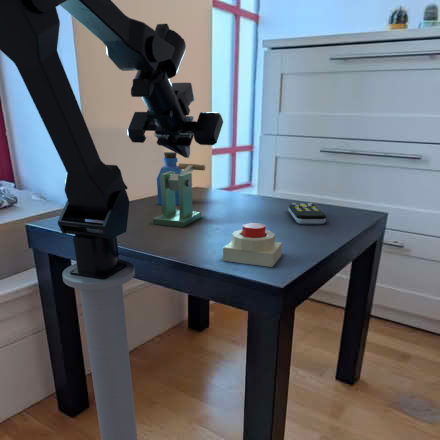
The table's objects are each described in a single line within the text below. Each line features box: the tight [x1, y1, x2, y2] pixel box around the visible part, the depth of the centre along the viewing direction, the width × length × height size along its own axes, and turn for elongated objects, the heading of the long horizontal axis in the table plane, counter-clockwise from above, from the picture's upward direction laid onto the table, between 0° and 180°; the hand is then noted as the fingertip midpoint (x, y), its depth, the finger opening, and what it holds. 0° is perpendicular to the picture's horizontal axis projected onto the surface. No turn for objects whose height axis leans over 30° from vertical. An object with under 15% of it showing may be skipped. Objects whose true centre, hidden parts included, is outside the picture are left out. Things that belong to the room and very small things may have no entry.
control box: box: [222, 229, 283, 268], centre depth 66 cm, size 6×8×4 cm
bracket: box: [152, 171, 202, 228], centre depth 87 cm, size 9×7×10 cm
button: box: [241, 222, 267, 238], centre depth 65 cm, size 4×4×2 cm
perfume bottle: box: [156, 151, 183, 206], centre depth 104 cm, size 6×6×12 cm
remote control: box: [288, 202, 327, 225], centre depth 92 cm, size 6×13×2 cm, turn 1°
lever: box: [168, 162, 206, 191], centre depth 88 cm, size 10×6×2 cm, turn 159°
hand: (187, 156), depth 89 cm, fingers closed
